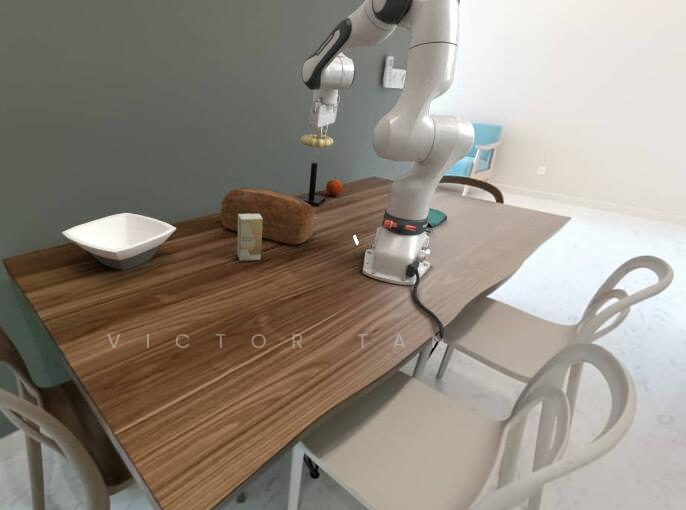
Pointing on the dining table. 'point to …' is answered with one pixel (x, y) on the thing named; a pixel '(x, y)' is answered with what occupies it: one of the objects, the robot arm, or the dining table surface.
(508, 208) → the dining table surface
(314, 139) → the pale yellow segmented ring
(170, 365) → the dining table surface
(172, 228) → the bowl
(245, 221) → the cosmetic box
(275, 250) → the dining table surface
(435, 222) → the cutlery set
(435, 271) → the dining table surface
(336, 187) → the fruit
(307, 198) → the peg stand
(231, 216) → the bread
